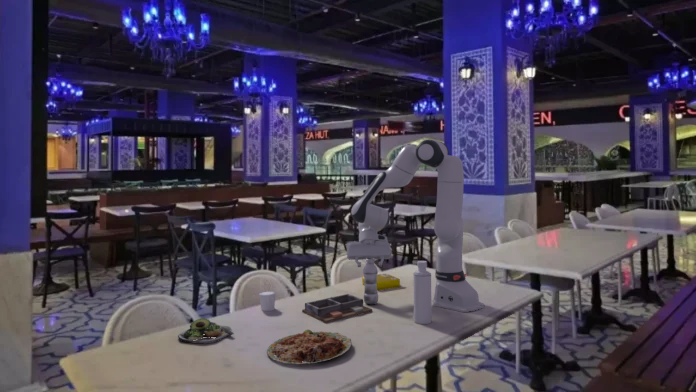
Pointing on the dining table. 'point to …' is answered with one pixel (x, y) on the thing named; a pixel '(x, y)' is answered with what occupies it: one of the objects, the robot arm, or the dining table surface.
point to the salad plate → (204, 331)
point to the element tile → (385, 282)
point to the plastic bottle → (370, 282)
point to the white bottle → (422, 294)
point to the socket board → (336, 308)
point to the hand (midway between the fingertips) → (369, 266)
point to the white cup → (267, 300)
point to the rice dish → (309, 347)
